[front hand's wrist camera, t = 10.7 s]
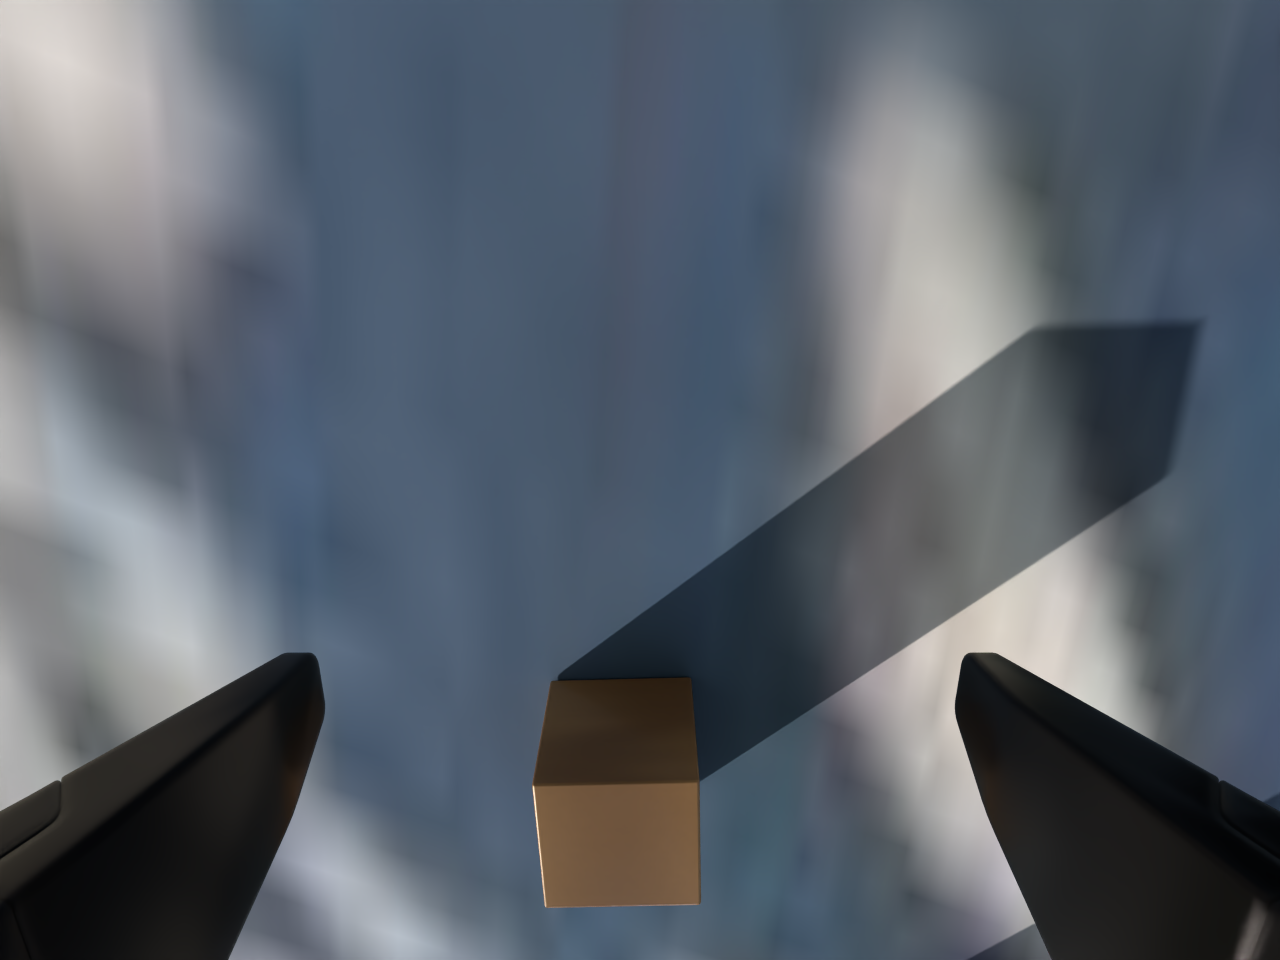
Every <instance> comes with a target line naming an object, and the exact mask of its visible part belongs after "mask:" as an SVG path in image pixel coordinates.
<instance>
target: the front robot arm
mask: <svg viewBox="0 0 1280 960" xmlns="http://www.w3.org/2000/svg"><path fill="white" fill-rule="evenodd" d="M324 715H325V700H324V694H323V688H322V681H321V675H320V669H319V664H318V660H317V658H316V656H315V655H314V654H312V653H284V654H281V655H280V656H278V657H276V658H274V659H272V660H271V661H269V662H267V663H265V664H264V665H262V666H260V667H258V668H256V669H255V670H253V671H251V672H249V673H247V674H246V675H244V676H242V677H240V678H239V679H237V680H235V681H233V682H231V683H230V684H228V685H226V686H224V687H222V688H221V689H219V690H217V691H215V692H214V693H212V694H210V695H208V696H206V697H205V698H203V699H201V700H199V701H197V702H196V703H194V704H192V705H190V706H189V707H187V708H185V709H183V710H181V711H180V712H178V713H176V714H174V715H172V716H171V717H169V718H167V719H165V720H164V721H162V722H160V723H158V724H156V725H155V726H153V727H151V728H149V729H147V730H146V731H144V732H142V733H140V734H139V735H137V736H135V737H133V738H131V739H130V740H128V741H126V742H124V743H122V744H121V745H119V746H117V747H115V748H114V749H112V750H110V751H108V752H106V753H105V754H103V755H101V756H99V757H97V758H96V759H94V760H92V761H90V762H89V763H87V764H85V765H83V766H81V767H80V768H78V769H76V770H74V771H72V772H71V773H69V774H67V775H65V776H64V777H62V779H61V782H60V781H54V782H53V783H51V784H49V785H47V786H45V787H44V788H42V789H40V790H38V791H37V792H35V793H33V794H31V795H30V796H28V797H26V798H24V799H22V800H20V801H18V802H17V803H15V804H13V805H11V806H9V807H7V808H5V809H4V810H2V811H0V960H228V959H229V957H230V954H231V952H232V950H233V948H234V946H235V943H236V941H237V939H238V937H239V934H240V932H241V930H242V928H243V926H244V923H245V921H246V919H247V917H248V915H249V912H250V910H251V908H252V906H253V903H254V901H255V899H256V897H257V895H258V892H259V890H260V888H261V886H262V883H263V881H264V879H265V877H266V875H267V872H268V870H269V868H270V866H271V864H272V861H273V859H274V857H275V855H276V852H277V850H278V848H279V846H280V844H281V841H282V839H283V837H284V835H285V833H286V830H287V828H288V825H289V823H290V821H291V818H292V816H293V813H294V810H295V807H296V805H297V802H298V799H299V796H300V792H301V789H302V786H303V783H304V780H305V777H306V774H307V770H308V767H309V764H310V761H311V758H312V755H313V751H314V748H315V745H316V742H317V739H318V736H319V733H320V729H321V726H322V723H323V720H324ZM955 715H956V720H957V723H958V726H959V729H960V733H961V736H962V739H963V742H964V745H965V748H966V751H967V755H968V758H969V761H970V764H971V767H972V770H973V774H974V777H975V780H976V783H977V786H978V789H979V792H980V796H981V799H982V802H983V805H984V807H985V810H986V813H987V816H988V818H989V821H990V823H991V825H992V828H993V830H994V833H995V835H996V837H997V839H998V841H999V844H1000V846H1001V848H1002V850H1003V852H1004V855H1005V857H1006V859H1007V861H1008V864H1009V866H1010V868H1011V870H1012V872H1013V875H1014V877H1015V879H1016V881H1017V884H1018V886H1019V888H1020V890H1021V892H1022V895H1023V897H1024V899H1025V901H1026V903H1027V906H1028V908H1029V910H1030V912H1031V915H1032V917H1033V919H1034V921H1035V923H1036V926H1037V928H1038V930H1039V932H1040V934H1041V937H1042V939H1043V941H1044V943H1045V946H1046V948H1047V950H1048V952H1049V954H1050V957H1051V959H1052V960H1280V811H1278V810H1276V809H1274V808H1273V807H1271V806H1269V805H1267V804H1265V803H1263V802H1262V801H1260V800H1258V799H1256V798H1254V797H1252V796H1250V795H1249V794H1247V793H1245V792H1243V791H1242V790H1240V789H1238V788H1236V787H1235V786H1233V785H1231V784H1229V783H1227V782H1226V781H1220V782H1219V779H1218V778H1217V777H1216V776H1215V775H1213V774H1211V773H1209V772H1208V771H1206V770H1204V769H1202V768H1200V767H1199V766H1197V765H1195V764H1193V763H1191V762H1190V761H1188V760H1186V759H1184V758H1183V757H1181V756H1179V755H1177V754H1175V753H1174V752H1172V751H1170V750H1168V749H1166V748H1165V747H1163V746H1161V745H1159V744H1158V743H1156V742H1154V741H1152V740H1150V739H1149V738H1147V737H1145V736H1143V735H1141V734H1140V733H1138V732H1136V731H1134V730H1133V729H1131V728H1129V727H1127V726H1125V725H1124V724H1122V723H1120V722H1118V721H1116V720H1115V719H1113V718H1111V717H1109V716H1108V715H1106V714H1104V713H1102V712H1100V711H1099V710H1097V709H1095V708H1093V707H1091V706H1090V705H1088V704H1086V703H1084V702H1083V701H1081V700H1079V699H1077V698H1075V697H1074V696H1072V695H1070V694H1068V693H1066V692H1065V691H1063V690H1061V689H1059V688H1058V687H1056V686H1054V685H1052V684H1050V683H1049V682H1047V681H1045V680H1043V679H1041V678H1040V677H1038V676H1036V675H1034V674H1033V673H1031V672H1029V671H1027V670H1025V669H1024V668H1022V667H1020V666H1018V665H1016V664H1015V663H1013V662H1011V661H1009V660H1008V659H1006V658H1004V657H1002V656H1000V655H999V654H996V653H968V654H966V655H965V656H964V658H963V660H962V664H961V669H960V675H959V681H958V688H957V694H956V700H955Z"/></svg>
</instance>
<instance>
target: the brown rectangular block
mask: <svg viewBox="0 0 1280 960" xmlns="http://www.w3.org/2000/svg"><path fill="white" fill-rule="evenodd" d="M532 788H533V798H534V807H535V817H536V826H537V836H538V845H539V855H540V865H541V874H542V884H543V893H544V903H545V907H547V908H559V907H610V906H662V905H699V904H700V903H701V863H700V782H699V769H698V757H697V744H696V732H695V719H694V707H693V694H692V682H691V678H689V677H685V678H646V679H606V680H566V681H551V683H550V688H549V694H548V699H547V705H546V711H545V716H544V722H543V727H542V733H541V739H540V744H539V750H538V755H537V761H536V767H535V772H534V778H533V783H532Z"/></svg>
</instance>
